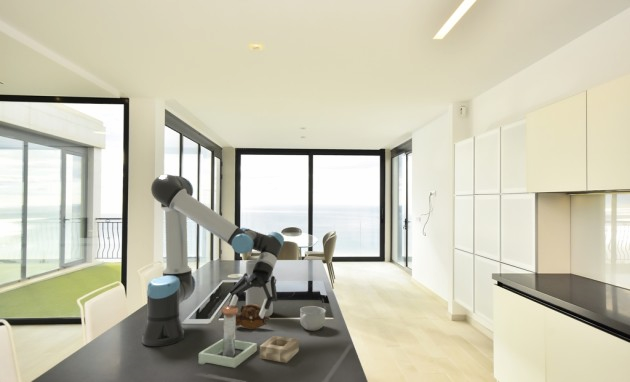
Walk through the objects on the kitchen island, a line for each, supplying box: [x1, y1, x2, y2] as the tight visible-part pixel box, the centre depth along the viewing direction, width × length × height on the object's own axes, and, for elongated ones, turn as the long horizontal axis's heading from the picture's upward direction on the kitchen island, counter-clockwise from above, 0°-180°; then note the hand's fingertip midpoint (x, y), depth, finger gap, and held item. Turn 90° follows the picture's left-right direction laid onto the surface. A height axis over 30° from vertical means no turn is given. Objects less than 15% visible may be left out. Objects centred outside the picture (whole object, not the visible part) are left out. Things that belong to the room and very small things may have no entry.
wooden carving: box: [235, 304, 271, 330], centre depth 155 cm, size 16×5×10 cm, turn 82°
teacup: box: [299, 305, 327, 332], centre depth 154 cm, size 14×11×8 cm
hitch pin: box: [221, 304, 239, 358], centre depth 126 cm, size 6×6×17 cm
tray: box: [198, 338, 258, 369], centre depth 126 cm, size 14×14×4 cm
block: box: [259, 335, 300, 364], centre depth 127 cm, size 10×10×5 cm
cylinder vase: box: [245, 258, 274, 317], centre depth 174 cm, size 12×12×25 cm
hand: (244, 314), depth 136 cm, fingers open, 13 cm apart
